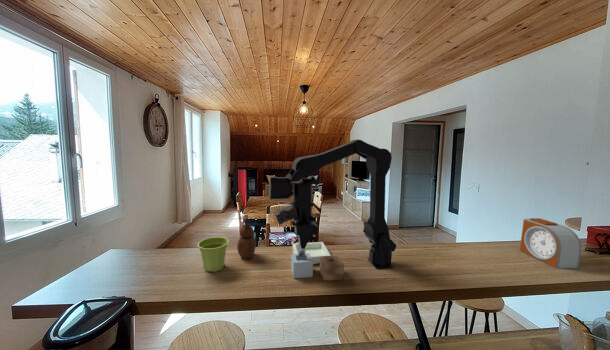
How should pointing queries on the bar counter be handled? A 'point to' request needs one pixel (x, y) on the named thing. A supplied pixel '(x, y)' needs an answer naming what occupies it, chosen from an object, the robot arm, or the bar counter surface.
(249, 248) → the wooden figurine
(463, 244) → the bar counter surface
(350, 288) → the bar counter surface
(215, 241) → the plant pot
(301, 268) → the bored block
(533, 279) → the bar counter surface
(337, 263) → the walnut block
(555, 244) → the alarm clock
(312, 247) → the tray
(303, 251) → the cylinder
